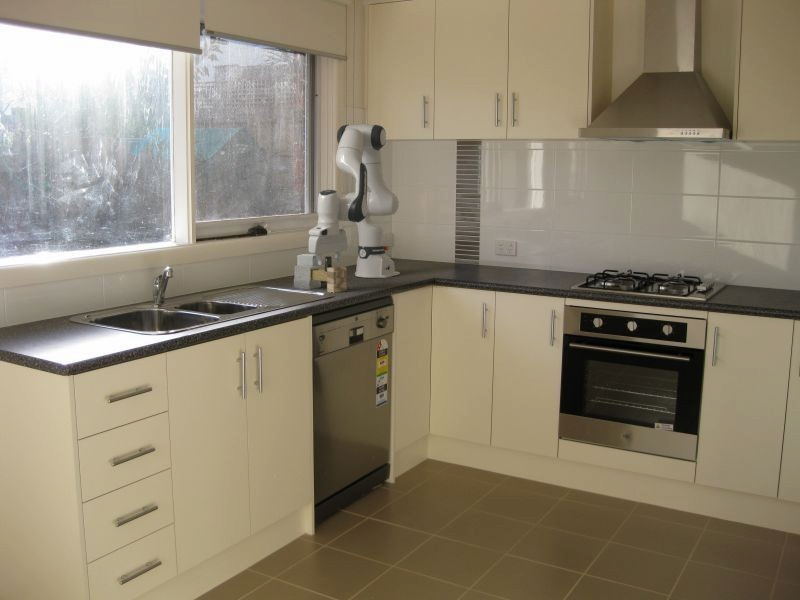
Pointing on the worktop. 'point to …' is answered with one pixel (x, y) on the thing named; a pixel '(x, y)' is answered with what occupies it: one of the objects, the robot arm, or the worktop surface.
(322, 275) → the brass slip tube
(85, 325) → the worktop surface
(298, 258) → the supplement box
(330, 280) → the beech socket block
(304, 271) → the aluminium sleeve
